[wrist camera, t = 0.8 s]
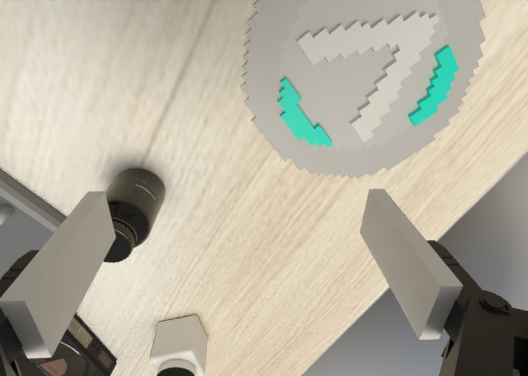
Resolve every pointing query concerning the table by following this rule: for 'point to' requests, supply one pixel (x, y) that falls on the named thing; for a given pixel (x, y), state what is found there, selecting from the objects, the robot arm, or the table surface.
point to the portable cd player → (71, 356)
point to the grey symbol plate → (358, 77)
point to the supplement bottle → (132, 210)
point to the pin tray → (23, 221)
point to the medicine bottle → (180, 347)
